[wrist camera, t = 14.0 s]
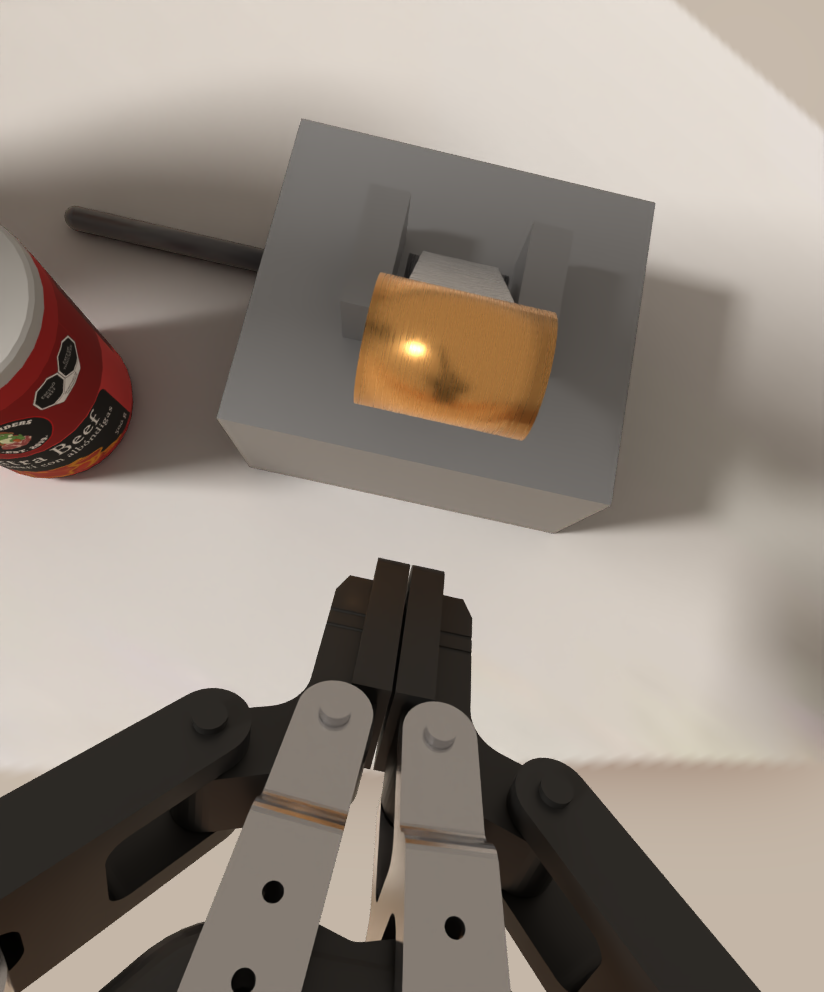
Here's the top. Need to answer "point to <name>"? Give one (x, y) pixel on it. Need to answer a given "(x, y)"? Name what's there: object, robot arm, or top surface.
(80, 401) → the canned food
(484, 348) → the breaker lever
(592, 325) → the box
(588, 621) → the top surface
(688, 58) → the top surface
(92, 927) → the robot arm
